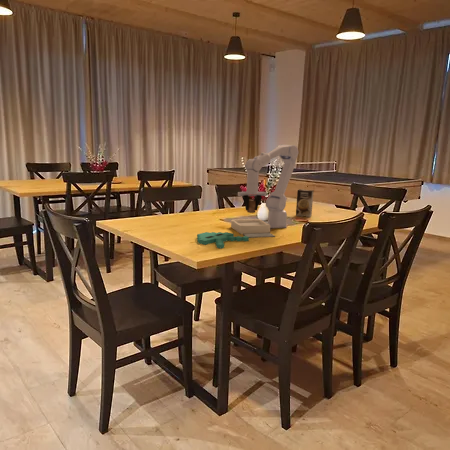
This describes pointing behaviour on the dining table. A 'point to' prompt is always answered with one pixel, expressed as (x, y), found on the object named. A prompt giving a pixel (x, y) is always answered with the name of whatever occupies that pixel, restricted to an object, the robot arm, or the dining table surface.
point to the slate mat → (258, 235)
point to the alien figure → (218, 238)
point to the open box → (250, 226)
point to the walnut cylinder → (251, 206)
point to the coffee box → (304, 203)
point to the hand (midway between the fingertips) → (251, 210)
